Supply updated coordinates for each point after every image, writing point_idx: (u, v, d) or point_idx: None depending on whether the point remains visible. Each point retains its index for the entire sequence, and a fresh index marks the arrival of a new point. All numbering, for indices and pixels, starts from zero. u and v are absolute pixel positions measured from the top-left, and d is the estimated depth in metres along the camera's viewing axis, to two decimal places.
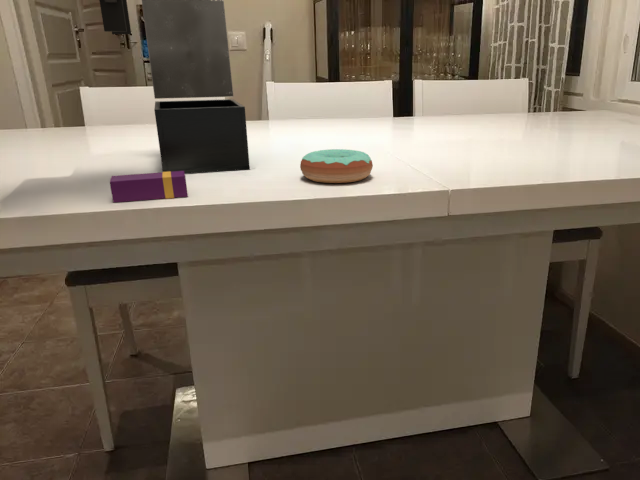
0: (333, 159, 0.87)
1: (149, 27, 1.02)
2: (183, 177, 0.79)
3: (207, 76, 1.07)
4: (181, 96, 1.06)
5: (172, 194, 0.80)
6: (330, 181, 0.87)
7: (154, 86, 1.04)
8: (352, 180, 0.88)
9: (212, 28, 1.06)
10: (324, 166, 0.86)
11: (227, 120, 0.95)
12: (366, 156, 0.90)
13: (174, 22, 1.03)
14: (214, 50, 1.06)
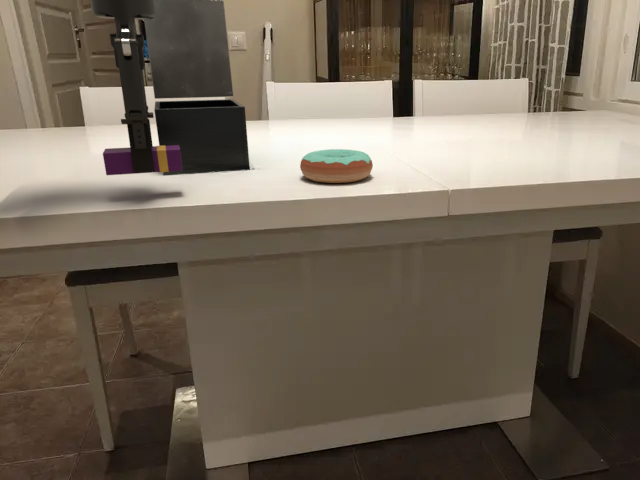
0: (333, 159, 0.87)
1: (149, 27, 1.02)
2: (178, 150, 0.78)
3: (207, 76, 1.07)
4: (181, 96, 1.06)
5: (166, 168, 0.78)
6: (330, 181, 0.87)
7: (154, 86, 1.04)
8: (352, 180, 0.88)
9: (212, 28, 1.06)
10: (324, 166, 0.86)
11: (227, 120, 0.95)
12: (366, 156, 0.90)
13: (174, 22, 1.03)
14: (214, 50, 1.06)
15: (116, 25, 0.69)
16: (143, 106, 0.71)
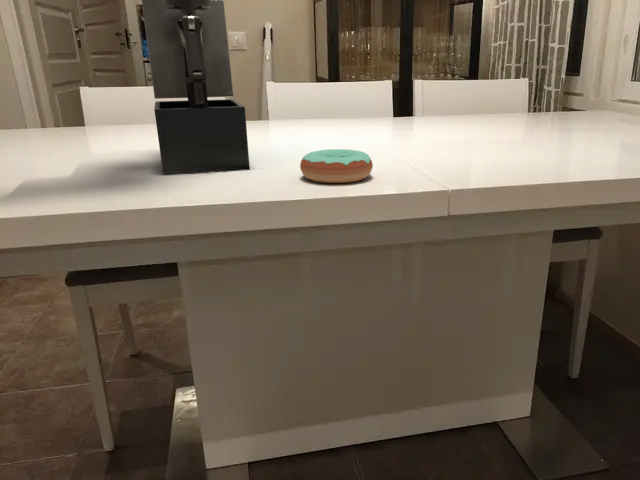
0: (333, 159, 0.87)
1: (149, 27, 1.02)
2: None
3: (207, 76, 1.07)
4: (181, 96, 1.06)
5: None
6: (330, 181, 0.87)
7: (154, 86, 1.04)
8: (352, 180, 0.88)
9: (212, 28, 1.06)
10: (324, 166, 0.86)
11: (227, 120, 0.95)
12: (366, 156, 0.90)
13: (174, 22, 1.03)
14: (214, 50, 1.06)
15: (183, 14, 0.90)
16: (203, 67, 0.89)
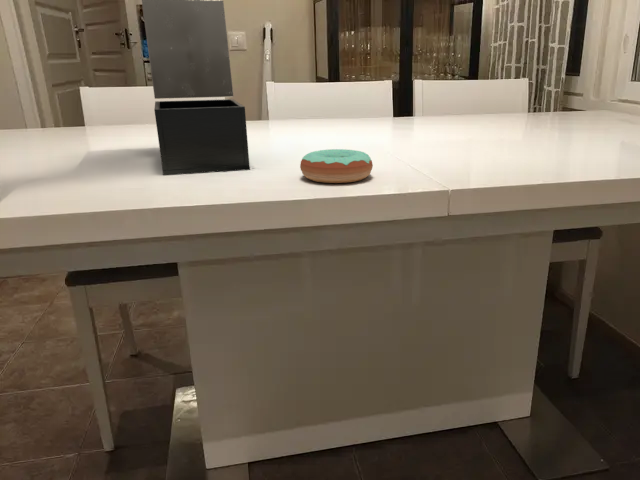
0: (333, 159, 0.87)
1: (149, 27, 1.03)
2: None
3: (207, 76, 1.07)
4: (181, 96, 1.06)
5: None
6: (330, 181, 0.87)
7: (154, 86, 1.04)
8: (352, 180, 0.88)
9: (212, 28, 1.06)
10: (324, 166, 0.86)
11: (227, 120, 0.95)
12: (366, 156, 0.90)
13: (174, 22, 1.04)
14: (214, 50, 1.07)
15: None
16: None
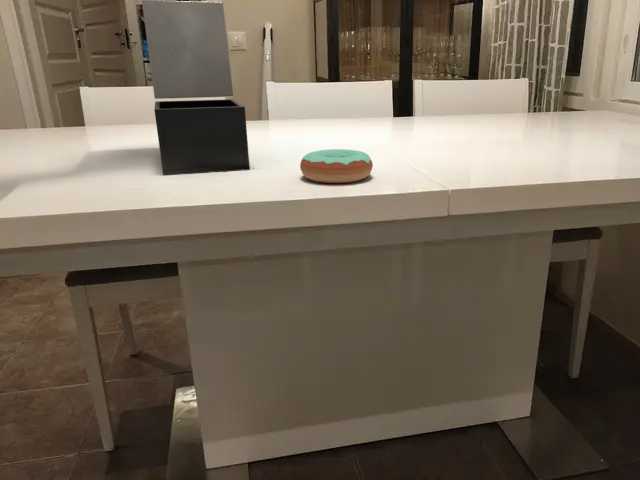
0: (333, 159, 0.87)
1: (150, 28, 1.03)
2: None
3: (207, 76, 1.07)
4: (181, 96, 1.06)
5: None
6: (330, 181, 0.87)
7: (154, 86, 1.04)
8: (352, 180, 0.88)
9: (212, 29, 1.07)
10: (324, 166, 0.86)
11: (227, 120, 0.95)
12: (366, 156, 0.90)
13: (174, 23, 1.04)
14: (214, 51, 1.07)
15: None
16: (188, 0, 1.08)
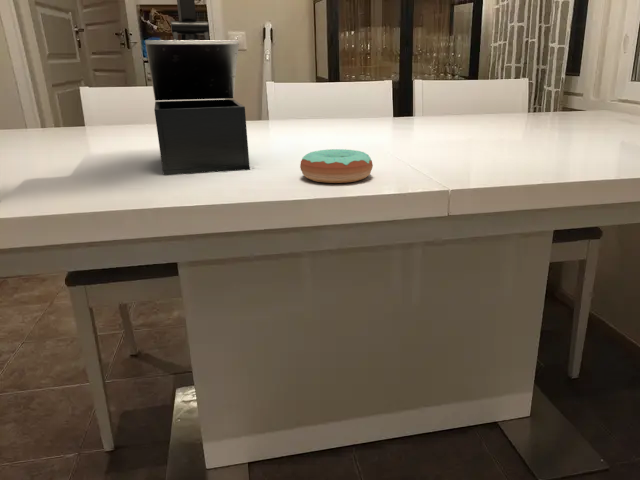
0: (333, 159, 0.87)
1: (153, 62, 0.93)
2: None
3: (210, 88, 1.04)
4: (181, 99, 1.06)
5: None
6: (330, 181, 0.87)
7: (155, 94, 1.03)
8: (352, 180, 0.88)
9: (221, 62, 0.97)
10: (324, 166, 0.86)
11: (227, 120, 0.95)
12: (366, 156, 0.90)
13: (180, 59, 0.94)
14: (220, 74, 1.01)
15: None
16: (195, 16, 0.94)
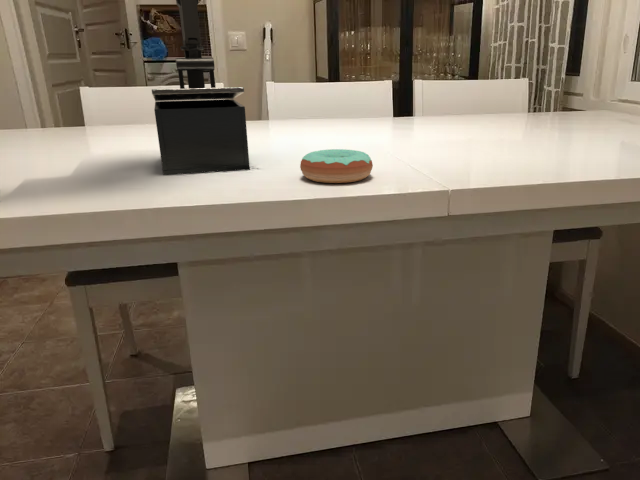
0: (333, 159, 0.87)
1: (158, 96, 0.94)
2: None
3: (211, 98, 1.05)
4: None
5: None
6: (330, 181, 0.87)
7: (156, 100, 1.03)
8: (352, 180, 0.88)
9: None
10: (324, 166, 0.86)
11: (227, 120, 0.95)
12: (366, 156, 0.90)
13: (185, 95, 0.94)
14: (223, 96, 1.01)
15: None
16: (198, 35, 0.92)
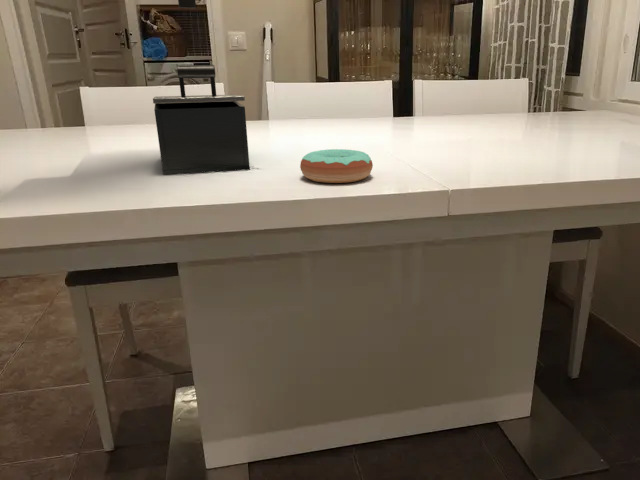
0: (333, 159, 0.87)
1: None
2: None
3: None
4: None
5: None
6: (330, 181, 0.87)
7: None
8: (352, 180, 0.88)
9: None
10: (324, 166, 0.86)
11: (227, 120, 0.95)
12: (366, 156, 0.90)
13: None
14: None
15: None
16: None
